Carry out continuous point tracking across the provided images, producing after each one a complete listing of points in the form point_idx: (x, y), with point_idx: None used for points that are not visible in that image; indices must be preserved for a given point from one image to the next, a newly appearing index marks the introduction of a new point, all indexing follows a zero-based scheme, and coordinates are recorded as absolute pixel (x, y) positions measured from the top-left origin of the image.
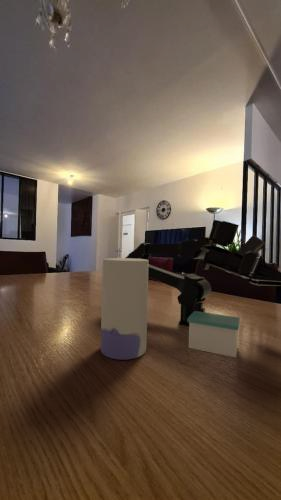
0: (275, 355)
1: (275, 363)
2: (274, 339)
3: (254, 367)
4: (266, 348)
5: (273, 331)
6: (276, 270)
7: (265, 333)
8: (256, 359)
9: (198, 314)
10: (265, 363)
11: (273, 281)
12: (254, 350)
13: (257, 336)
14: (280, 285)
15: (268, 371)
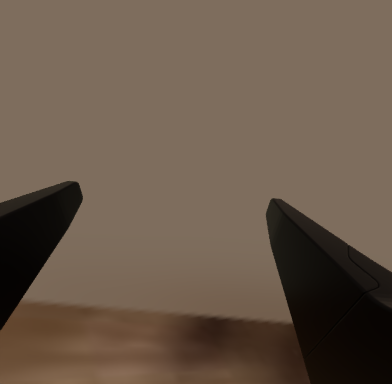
0: (220, 318)
1: (257, 321)
2: (114, 313)
3: (301, 366)
4: (192, 338)
5: (32, 311)
6: (341, 243)
7: (62, 340)
8: (266, 363)
9: None
10: (270, 342)
11: (22, 262)
12: (221, 372)
13: (104, 369)
14: (63, 233)
15: (296, 337)
